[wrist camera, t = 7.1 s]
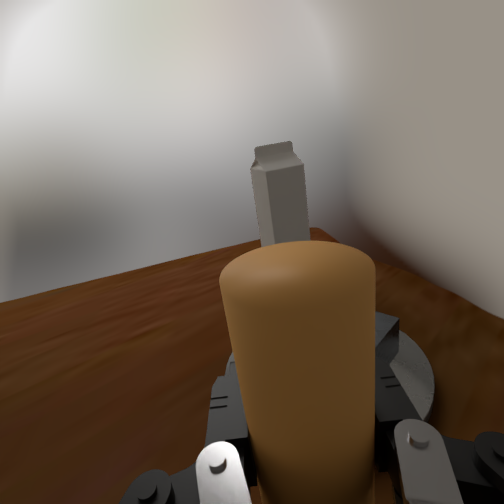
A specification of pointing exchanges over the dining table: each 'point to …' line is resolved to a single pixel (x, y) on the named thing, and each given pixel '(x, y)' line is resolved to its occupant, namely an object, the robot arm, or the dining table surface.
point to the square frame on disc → (401, 363)
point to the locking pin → (306, 368)
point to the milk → (280, 194)
